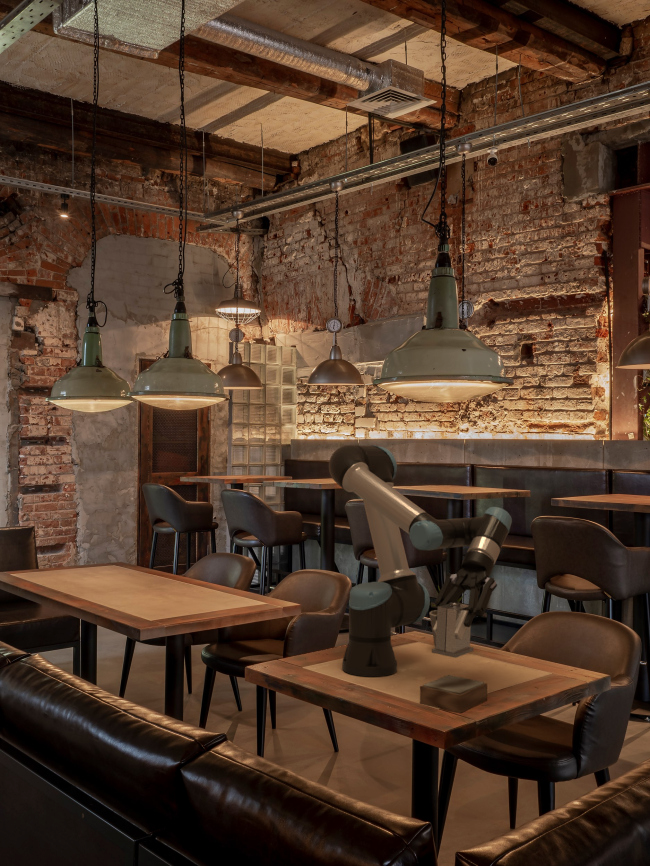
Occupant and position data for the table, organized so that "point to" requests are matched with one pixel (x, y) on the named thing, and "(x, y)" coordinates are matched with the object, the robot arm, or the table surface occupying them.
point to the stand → (453, 693)
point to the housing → (451, 631)
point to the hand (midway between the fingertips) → (447, 634)
